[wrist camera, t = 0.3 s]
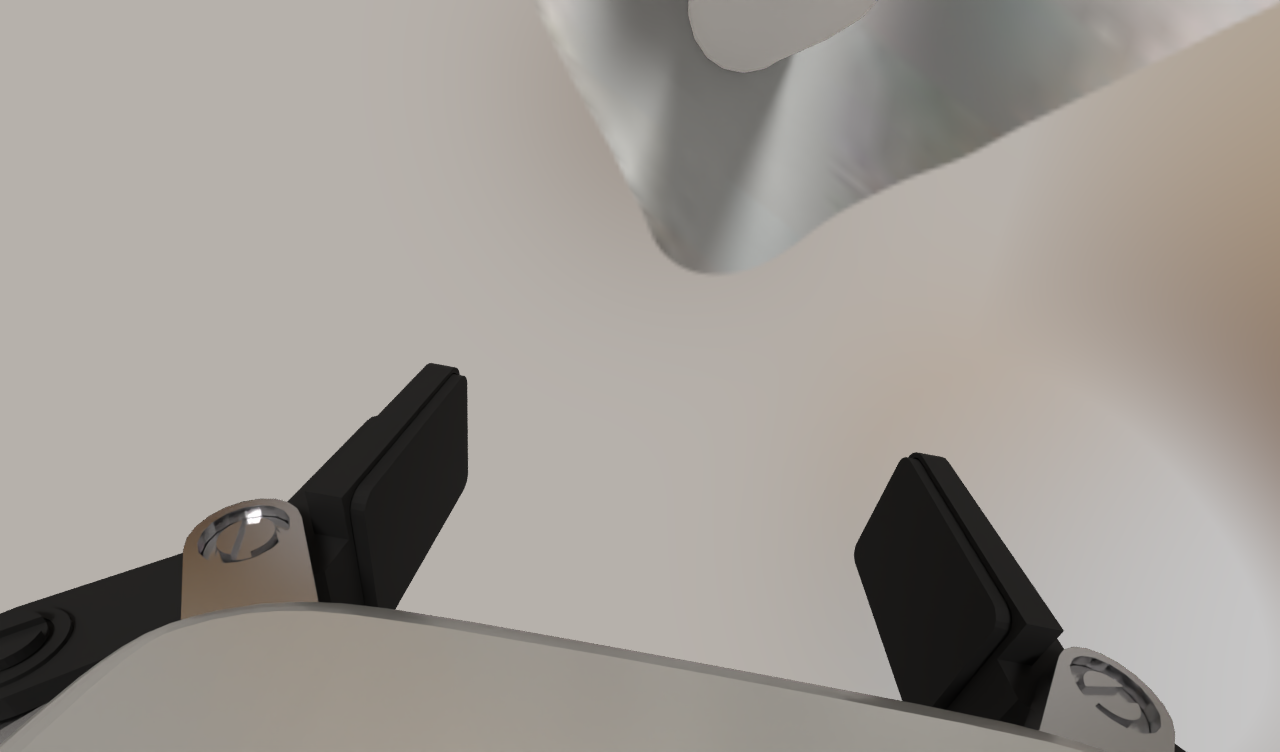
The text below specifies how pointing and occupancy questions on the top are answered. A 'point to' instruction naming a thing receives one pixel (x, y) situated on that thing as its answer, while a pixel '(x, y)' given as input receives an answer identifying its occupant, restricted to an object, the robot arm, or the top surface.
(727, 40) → the bottle
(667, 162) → the top surface
